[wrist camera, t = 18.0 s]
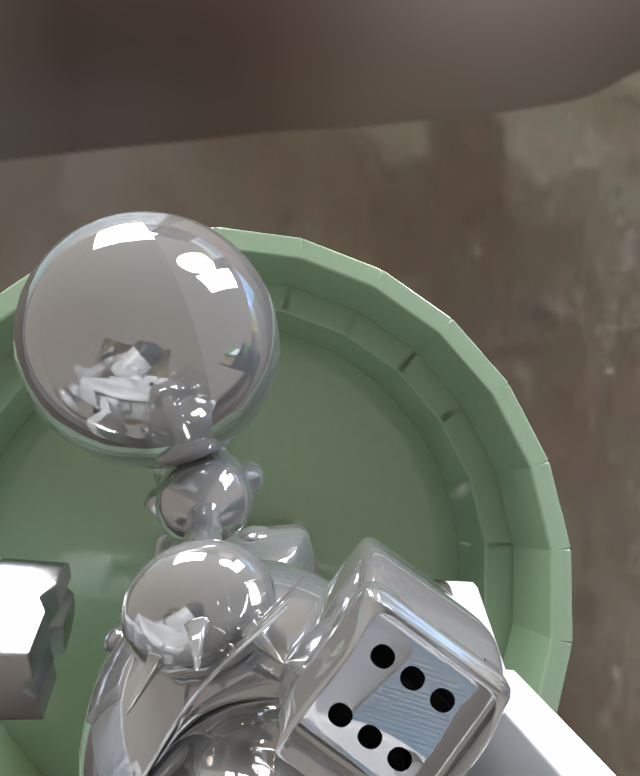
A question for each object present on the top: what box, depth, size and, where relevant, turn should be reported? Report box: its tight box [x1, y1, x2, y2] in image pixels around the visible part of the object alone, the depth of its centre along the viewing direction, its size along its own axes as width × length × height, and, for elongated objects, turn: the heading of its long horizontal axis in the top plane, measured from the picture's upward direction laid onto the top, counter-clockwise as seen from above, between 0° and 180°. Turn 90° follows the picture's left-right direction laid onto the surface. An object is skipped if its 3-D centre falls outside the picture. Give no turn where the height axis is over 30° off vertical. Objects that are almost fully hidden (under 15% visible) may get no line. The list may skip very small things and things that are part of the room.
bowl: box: [0, 227, 572, 776], centre depth 18 cm, size 20×20×6 cm
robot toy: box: [13, 211, 511, 776], centre depth 11 cm, size 15×6×15 cm, turn 15°
